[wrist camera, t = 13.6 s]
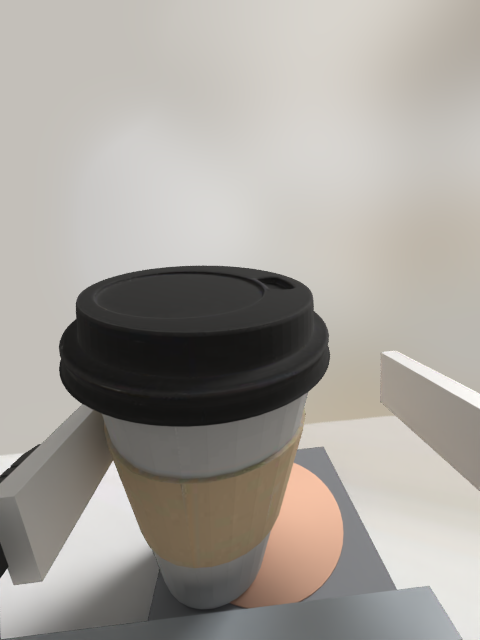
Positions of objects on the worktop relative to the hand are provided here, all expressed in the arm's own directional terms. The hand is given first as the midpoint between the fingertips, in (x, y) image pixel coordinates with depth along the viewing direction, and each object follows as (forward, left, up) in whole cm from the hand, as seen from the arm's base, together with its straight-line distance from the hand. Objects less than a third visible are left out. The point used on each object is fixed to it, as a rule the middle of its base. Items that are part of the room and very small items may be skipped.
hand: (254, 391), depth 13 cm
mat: (0, +2, -10) cm, 11 cm away
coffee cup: (-3, 0, -9) cm, 10 cm away
